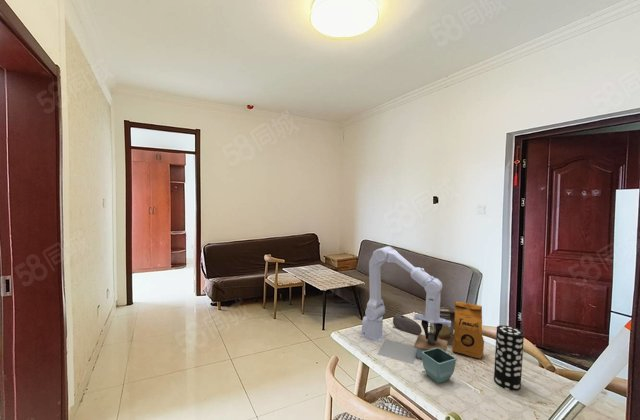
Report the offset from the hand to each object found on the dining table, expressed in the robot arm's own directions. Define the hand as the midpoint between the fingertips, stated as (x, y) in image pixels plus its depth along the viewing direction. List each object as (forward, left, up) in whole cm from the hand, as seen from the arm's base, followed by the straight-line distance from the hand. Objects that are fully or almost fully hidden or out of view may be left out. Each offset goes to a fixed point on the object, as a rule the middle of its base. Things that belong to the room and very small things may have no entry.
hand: (431, 339), depth 124 cm
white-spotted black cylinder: (+27, -6, -8) cm, 29 cm away
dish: (0, 0, -7) cm, 7 cm away
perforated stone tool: (-13, +19, -8) cm, 24 cm away
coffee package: (+14, +11, -8) cm, 19 cm away
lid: (0, 0, -3) cm, 3 cm away
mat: (-13, -3, -7) cm, 15 cm away
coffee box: (+3, +15, -8) cm, 17 cm away
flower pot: (+4, -15, -8) cm, 17 cm away
